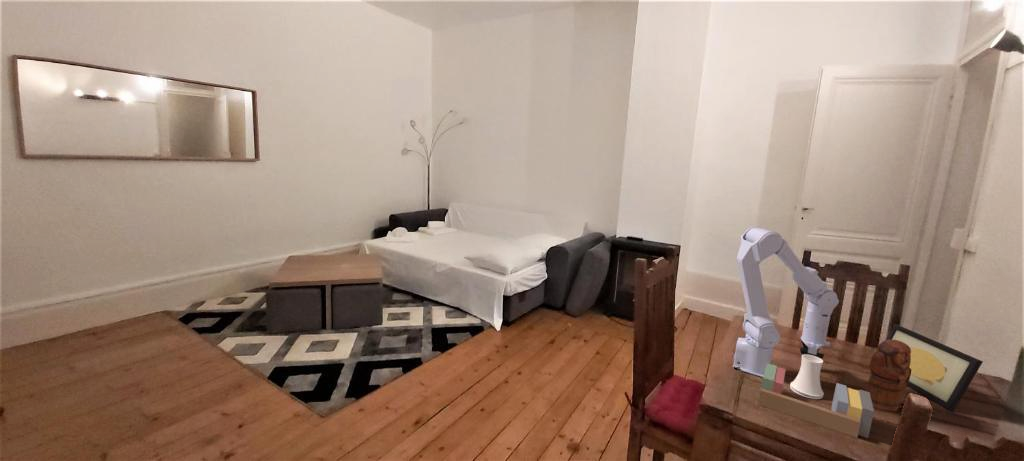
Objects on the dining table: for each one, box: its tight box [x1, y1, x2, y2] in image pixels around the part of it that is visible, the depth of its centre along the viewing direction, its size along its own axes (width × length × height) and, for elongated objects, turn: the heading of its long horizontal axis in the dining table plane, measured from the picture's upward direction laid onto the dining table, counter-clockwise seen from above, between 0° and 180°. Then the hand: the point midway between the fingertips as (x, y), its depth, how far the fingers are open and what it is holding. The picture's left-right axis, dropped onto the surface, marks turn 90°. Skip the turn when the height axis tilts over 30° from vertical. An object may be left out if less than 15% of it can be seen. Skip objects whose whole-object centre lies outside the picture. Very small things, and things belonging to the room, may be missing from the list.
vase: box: [789, 354, 824, 400], centre depth 111 cm, size 8×8×10 cm
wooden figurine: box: [865, 339, 911, 412], centre depth 106 cm, size 12×6×18 cm, turn 118°
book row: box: [758, 363, 875, 439], centre depth 103 cm, size 22×12×7 cm, turn 53°
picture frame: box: [885, 323, 984, 412], centre depth 116 cm, size 23×9×15 cm, turn 1°
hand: (808, 367), depth 122 cm, fingers open, 7 cm apart
